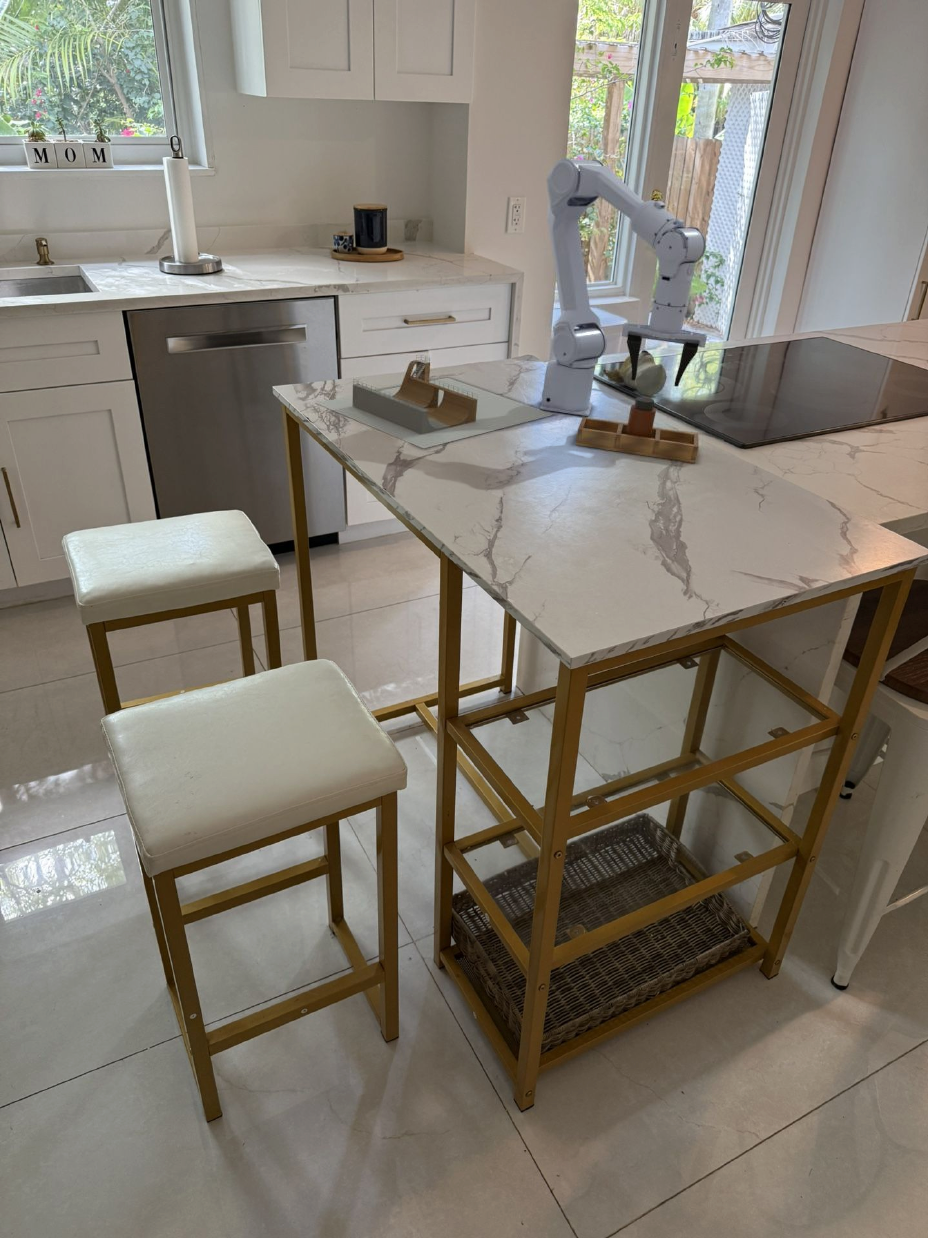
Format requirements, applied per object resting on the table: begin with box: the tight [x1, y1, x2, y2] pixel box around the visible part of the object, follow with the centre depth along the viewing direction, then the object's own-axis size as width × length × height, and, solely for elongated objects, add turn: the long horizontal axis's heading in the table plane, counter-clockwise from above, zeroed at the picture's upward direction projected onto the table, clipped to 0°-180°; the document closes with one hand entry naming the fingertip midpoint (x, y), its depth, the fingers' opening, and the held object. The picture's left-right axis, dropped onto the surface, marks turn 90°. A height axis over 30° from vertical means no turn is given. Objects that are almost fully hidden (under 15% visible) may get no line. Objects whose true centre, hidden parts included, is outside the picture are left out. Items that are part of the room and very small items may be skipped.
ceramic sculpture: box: [602, 349, 668, 397], centre depth 190 cm, size 11×9×15 cm
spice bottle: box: [626, 396, 657, 438], centre depth 155 cm, size 4×4×8 cm
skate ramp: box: [315, 354, 555, 449], centre depth 165 cm, size 29×35×8 cm
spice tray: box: [575, 416, 700, 464], centre depth 157 cm, size 21×8×3 cm, turn 77°
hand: (654, 381), depth 159 cm, fingers open, 7 cm apart
